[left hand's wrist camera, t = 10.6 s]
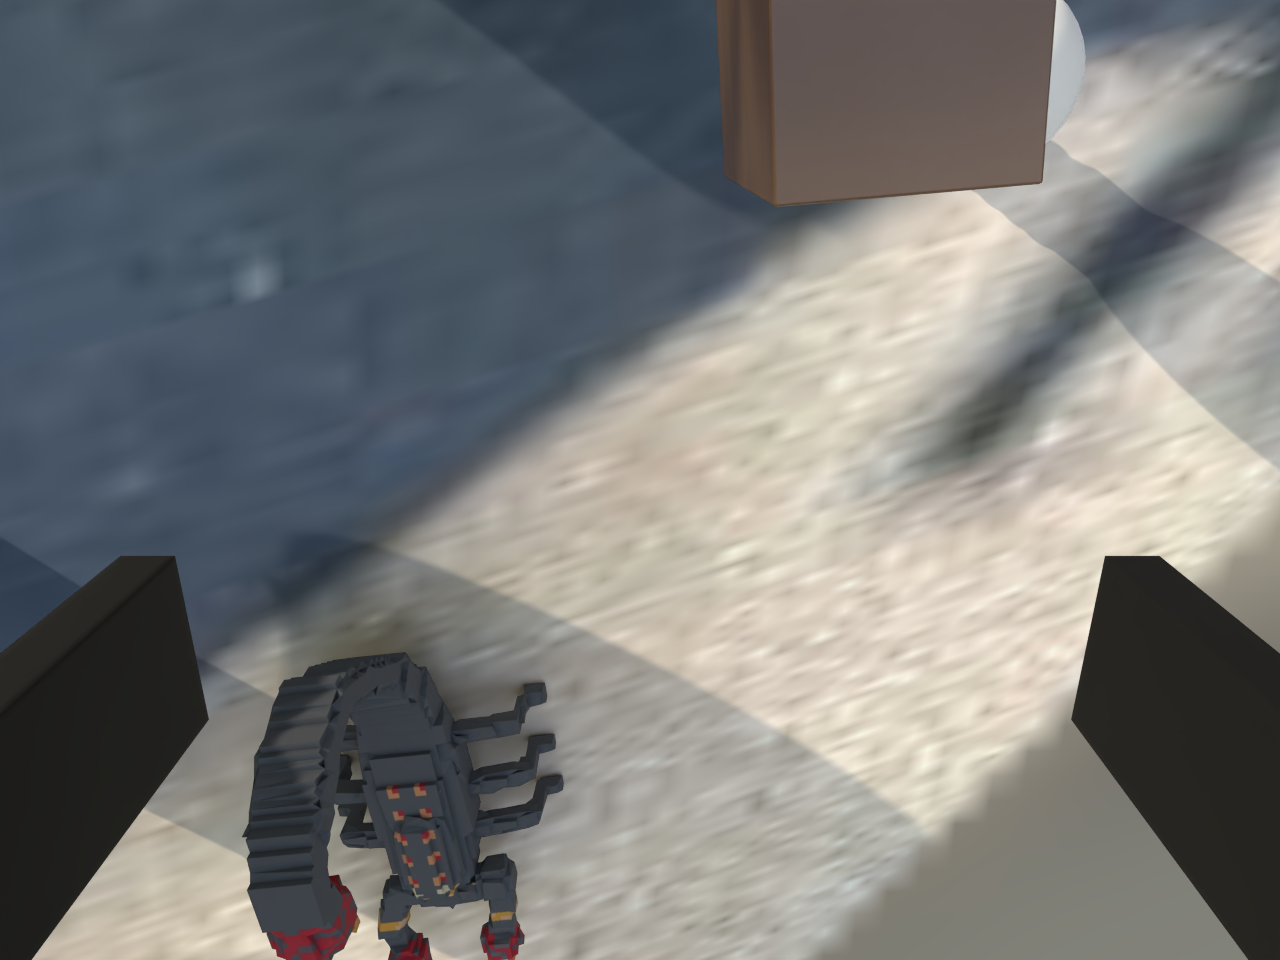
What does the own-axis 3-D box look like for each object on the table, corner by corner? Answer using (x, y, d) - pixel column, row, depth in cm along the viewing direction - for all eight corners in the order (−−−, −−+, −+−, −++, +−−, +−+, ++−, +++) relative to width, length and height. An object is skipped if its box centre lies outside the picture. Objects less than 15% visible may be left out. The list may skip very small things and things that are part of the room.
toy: (517, 538, 47) (447, 767, 30) (589, 919, 57) (567, 1258, 40) (269, 566, 48) (62, 807, 31) (382, 938, 57) (272, 1281, 40)
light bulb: (820, 132, 40) (883, 131, 30) (892, -27, 38) (987, -88, 27) (953, 193, 41) (1058, 212, 31) (1031, 41, 39) (1173, 7, 28)
